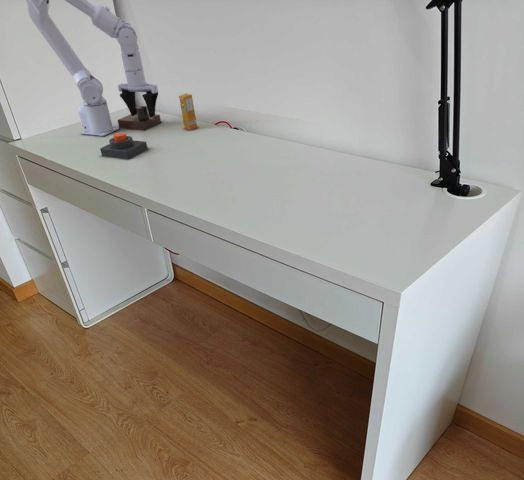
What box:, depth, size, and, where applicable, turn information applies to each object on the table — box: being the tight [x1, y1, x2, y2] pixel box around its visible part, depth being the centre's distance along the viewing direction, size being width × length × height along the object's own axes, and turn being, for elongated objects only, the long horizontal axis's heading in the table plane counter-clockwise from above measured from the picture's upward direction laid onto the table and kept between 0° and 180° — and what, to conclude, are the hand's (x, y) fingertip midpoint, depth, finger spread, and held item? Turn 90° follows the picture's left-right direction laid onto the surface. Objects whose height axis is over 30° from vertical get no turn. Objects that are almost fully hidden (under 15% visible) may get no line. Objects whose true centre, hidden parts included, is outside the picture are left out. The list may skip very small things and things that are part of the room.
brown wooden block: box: [117, 113, 162, 131], centre depth 168 cm, size 12×9×3 cm
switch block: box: [99, 135, 149, 160], centre depth 146 cm, size 10×9×4 cm
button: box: [112, 132, 127, 142], centre depth 144 cm, size 4×4×2 cm
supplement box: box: [178, 92, 198, 131], centre depth 159 cm, size 3×3×10 cm
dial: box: [136, 105, 149, 120], centre depth 164 cm, size 4×4×4 cm
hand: (143, 115), depth 165 cm, fingers open, 7 cm apart
